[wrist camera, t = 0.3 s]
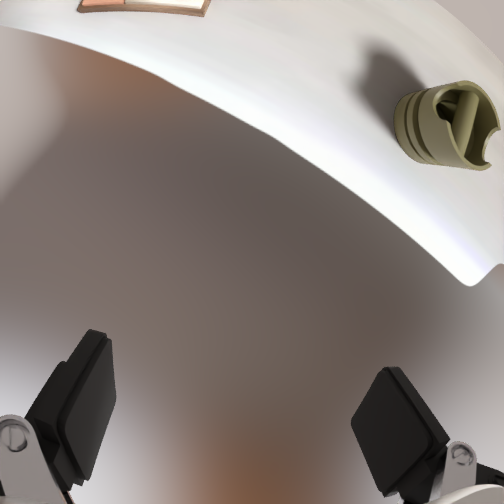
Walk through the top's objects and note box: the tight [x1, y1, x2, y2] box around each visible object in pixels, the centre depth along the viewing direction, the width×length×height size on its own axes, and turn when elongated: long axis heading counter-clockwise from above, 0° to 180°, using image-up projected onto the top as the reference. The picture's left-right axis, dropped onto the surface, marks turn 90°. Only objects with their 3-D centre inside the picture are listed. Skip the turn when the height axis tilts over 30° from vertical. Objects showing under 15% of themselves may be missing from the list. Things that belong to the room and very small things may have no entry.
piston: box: [394, 81, 501, 171], centre depth 30 cm, size 11×12×11 cm
